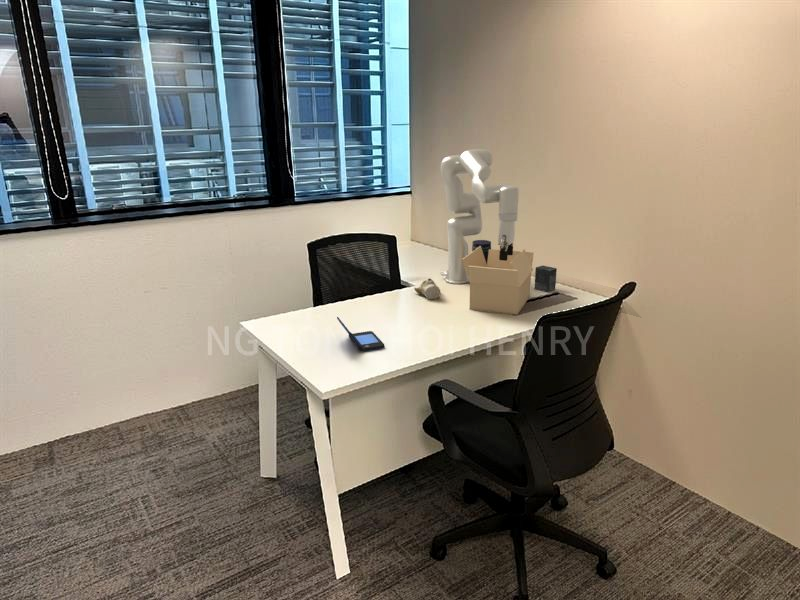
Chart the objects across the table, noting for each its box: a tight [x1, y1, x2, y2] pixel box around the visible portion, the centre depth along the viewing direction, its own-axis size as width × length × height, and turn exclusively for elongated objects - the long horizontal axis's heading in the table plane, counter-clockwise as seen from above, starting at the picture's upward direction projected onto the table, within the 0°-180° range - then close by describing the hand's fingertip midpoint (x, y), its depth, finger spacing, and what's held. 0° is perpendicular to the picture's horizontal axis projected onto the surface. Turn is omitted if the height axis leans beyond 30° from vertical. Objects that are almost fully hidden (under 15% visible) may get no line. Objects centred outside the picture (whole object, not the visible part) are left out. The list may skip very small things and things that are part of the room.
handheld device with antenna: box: [336, 316, 385, 353], centre depth 189 cm, size 16×13×9 cm
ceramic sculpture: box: [414, 278, 441, 300], centre depth 239 cm, size 11×9×15 cm
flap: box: [510, 248, 534, 286], centre depth 221 cm, size 10×25×1 cm
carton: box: [462, 246, 535, 316], centre depth 227 cm, size 24×32×22 cm
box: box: [534, 265, 558, 293], centre depth 244 cm, size 8×6×11 cm
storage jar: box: [471, 239, 492, 264], centre depth 279 cm, size 10×10×15 cm
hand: (506, 257), depth 222 cm, fingers open, 9 cm apart
